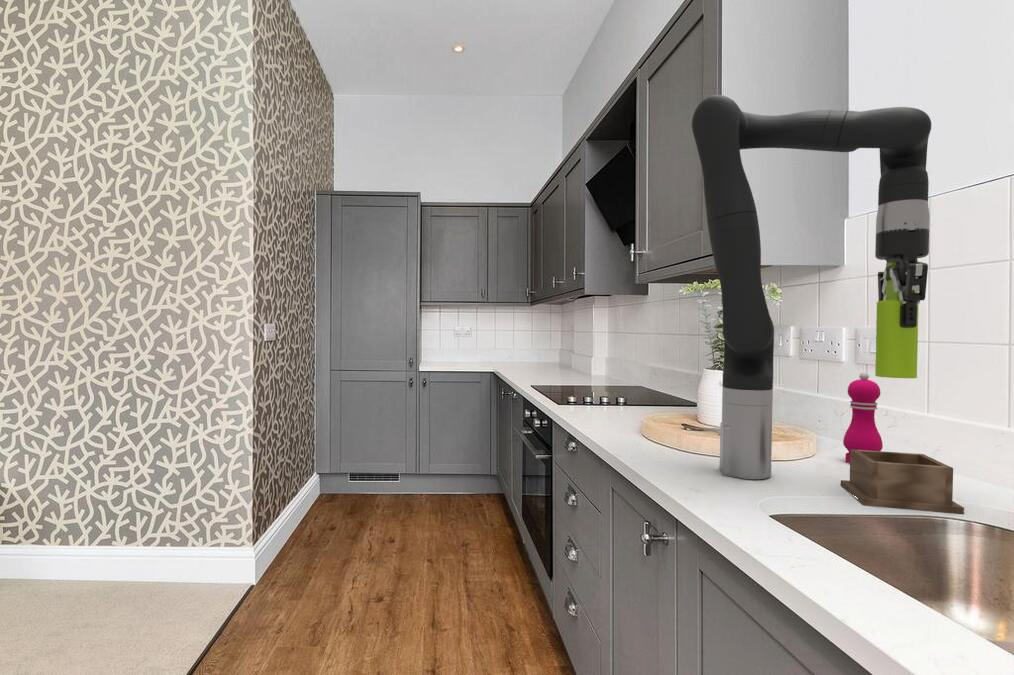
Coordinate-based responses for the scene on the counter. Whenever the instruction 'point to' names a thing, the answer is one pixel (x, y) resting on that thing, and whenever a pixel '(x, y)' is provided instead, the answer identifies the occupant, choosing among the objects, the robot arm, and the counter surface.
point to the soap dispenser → (894, 338)
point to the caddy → (901, 481)
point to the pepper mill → (863, 417)
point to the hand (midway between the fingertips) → (899, 327)
